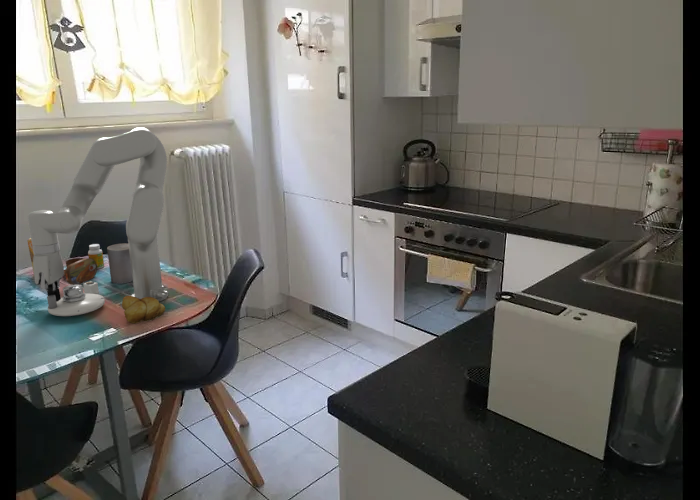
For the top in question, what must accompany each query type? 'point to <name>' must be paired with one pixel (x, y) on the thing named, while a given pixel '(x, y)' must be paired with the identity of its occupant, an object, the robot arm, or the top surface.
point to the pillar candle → (120, 263)
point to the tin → (81, 271)
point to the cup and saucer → (71, 262)
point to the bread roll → (141, 309)
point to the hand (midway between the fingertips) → (54, 300)
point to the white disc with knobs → (74, 305)
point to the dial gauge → (91, 288)
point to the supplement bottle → (96, 255)
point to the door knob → (73, 293)
